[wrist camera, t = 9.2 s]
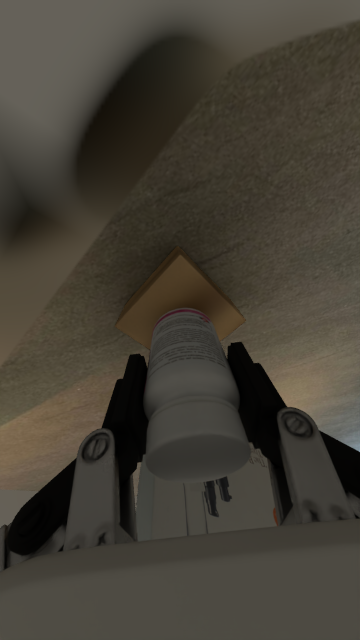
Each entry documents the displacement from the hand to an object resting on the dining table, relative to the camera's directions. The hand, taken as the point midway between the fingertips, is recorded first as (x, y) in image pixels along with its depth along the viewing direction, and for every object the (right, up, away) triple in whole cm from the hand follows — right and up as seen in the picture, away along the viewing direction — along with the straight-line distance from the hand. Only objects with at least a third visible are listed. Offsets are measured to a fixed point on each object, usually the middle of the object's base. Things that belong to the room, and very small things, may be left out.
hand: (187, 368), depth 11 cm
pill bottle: (0, +2, +3) cm, 4 cm away
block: (-1, +5, +9) cm, 10 cm away
